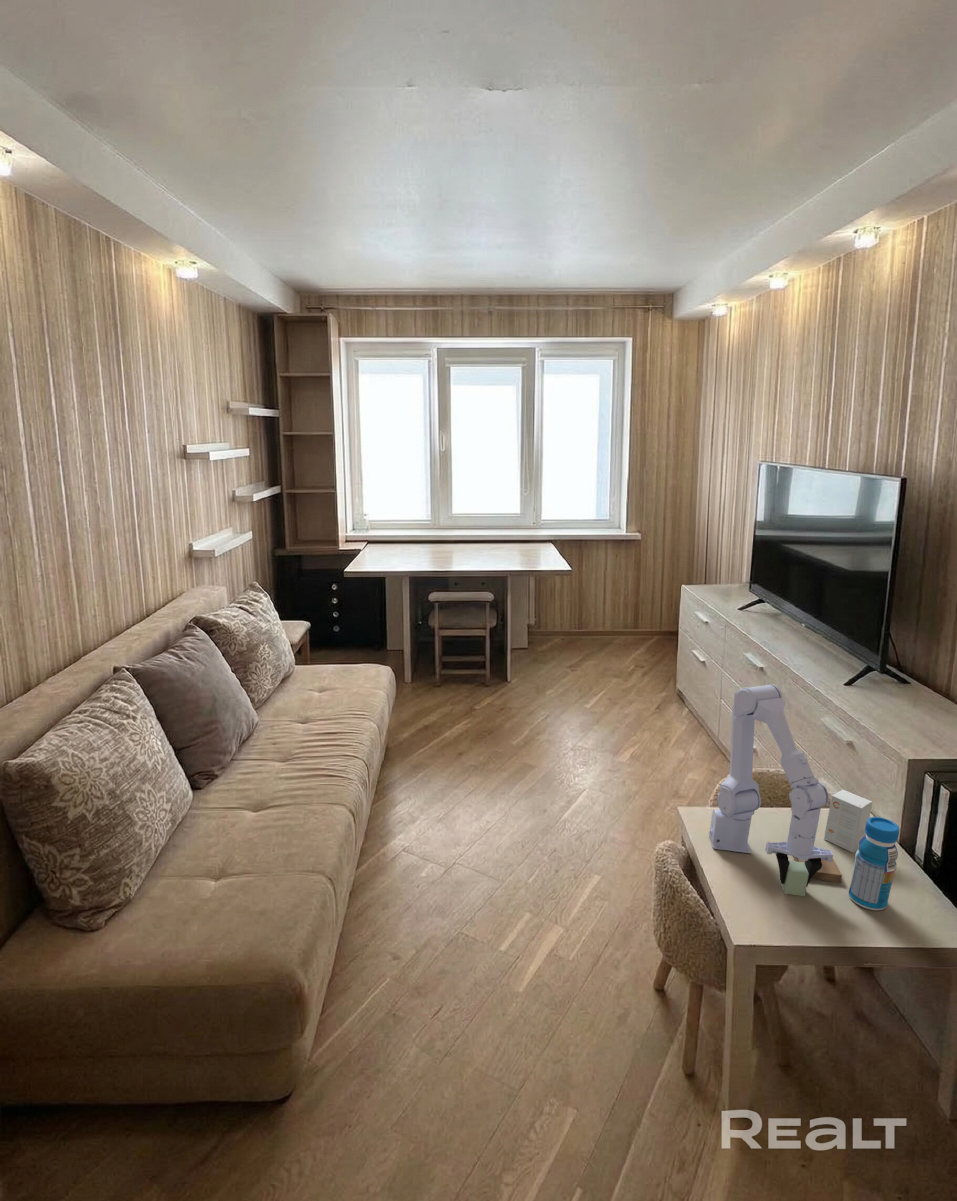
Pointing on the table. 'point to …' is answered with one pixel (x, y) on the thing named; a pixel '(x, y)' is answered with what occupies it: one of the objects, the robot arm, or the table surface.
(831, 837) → the small box
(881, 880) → the beverage bottle
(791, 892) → the block
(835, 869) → the plinth
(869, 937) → the table surface
